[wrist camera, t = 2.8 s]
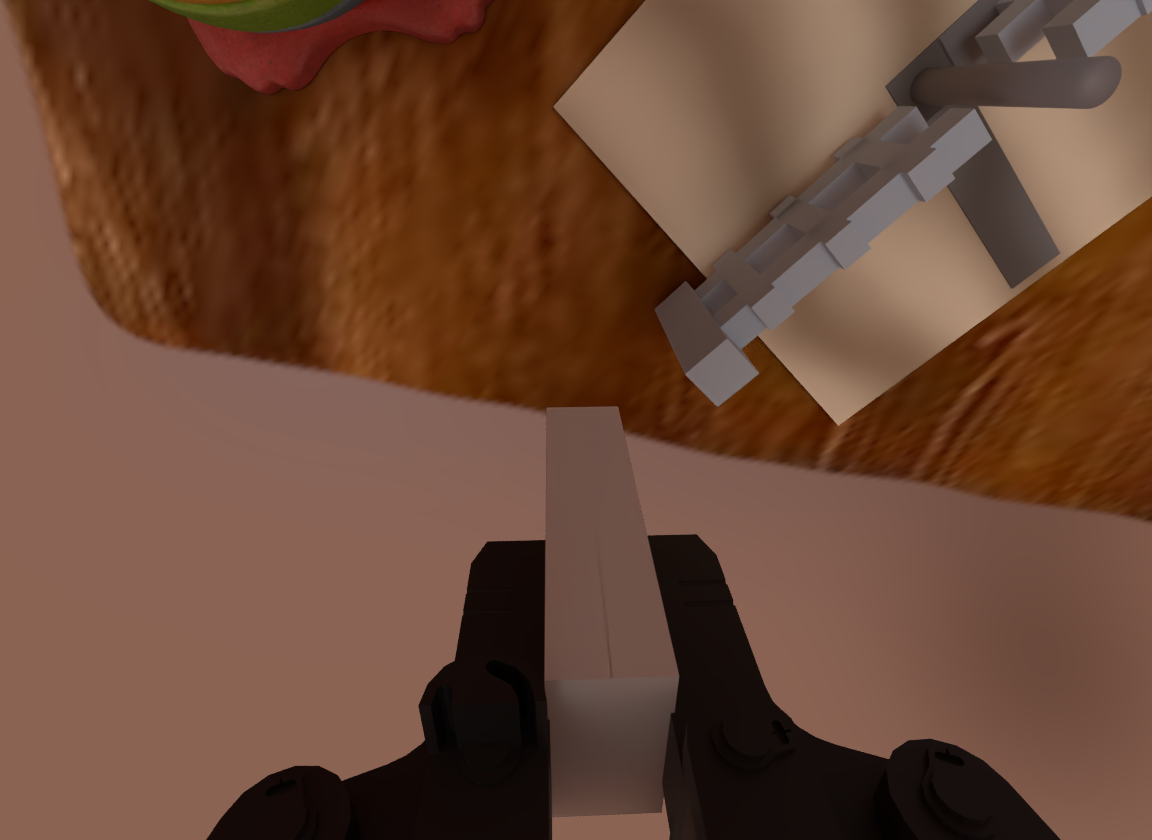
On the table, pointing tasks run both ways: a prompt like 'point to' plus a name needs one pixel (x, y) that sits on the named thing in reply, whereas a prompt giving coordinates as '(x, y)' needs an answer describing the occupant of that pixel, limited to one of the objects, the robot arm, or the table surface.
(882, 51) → the board
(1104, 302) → the table surface
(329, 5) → the stacking bear
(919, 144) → the gray castle wall
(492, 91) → the table surface
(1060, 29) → the fixed fence panel
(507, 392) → the table surface
